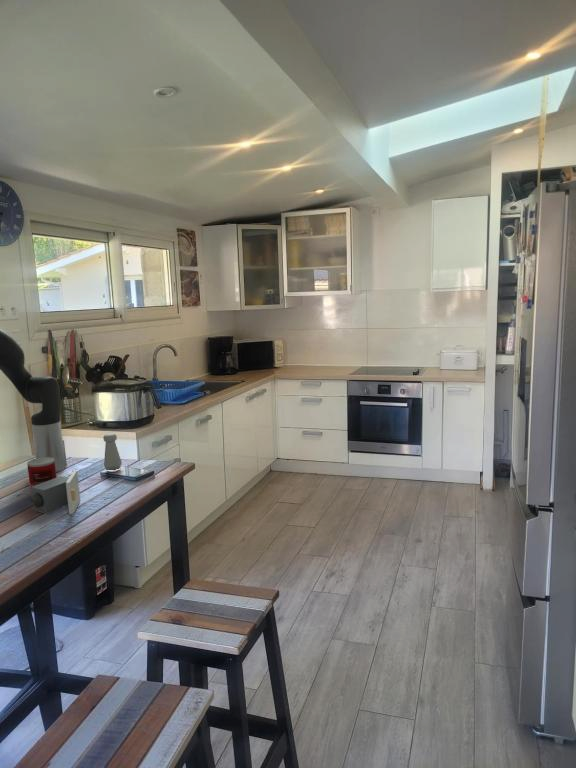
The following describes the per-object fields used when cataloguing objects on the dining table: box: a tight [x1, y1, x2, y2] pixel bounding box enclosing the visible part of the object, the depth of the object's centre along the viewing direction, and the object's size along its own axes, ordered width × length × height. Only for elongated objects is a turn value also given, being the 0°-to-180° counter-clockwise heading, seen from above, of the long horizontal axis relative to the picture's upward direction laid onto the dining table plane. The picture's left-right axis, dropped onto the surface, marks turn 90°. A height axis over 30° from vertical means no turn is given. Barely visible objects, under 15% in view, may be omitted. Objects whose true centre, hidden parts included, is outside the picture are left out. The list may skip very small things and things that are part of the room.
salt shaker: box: [103, 432, 122, 471], centre depth 192 cm, size 6×6×13 cm
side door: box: [66, 470, 81, 515], centre depth 160 cm, size 10×2×9 cm, turn 9°
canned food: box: [27, 457, 57, 496], centre depth 171 cm, size 8×8×11 cm
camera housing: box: [30, 469, 77, 515], centre depth 162 cm, size 12×6×9 cm, turn 149°
